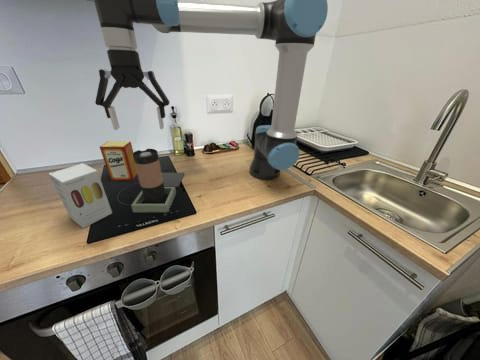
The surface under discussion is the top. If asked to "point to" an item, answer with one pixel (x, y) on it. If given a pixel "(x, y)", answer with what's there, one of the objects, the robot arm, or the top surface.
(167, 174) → the rubber mat
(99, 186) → the supplement box
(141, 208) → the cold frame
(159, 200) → the travel mug
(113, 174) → the baking soda box
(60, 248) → the top surface
